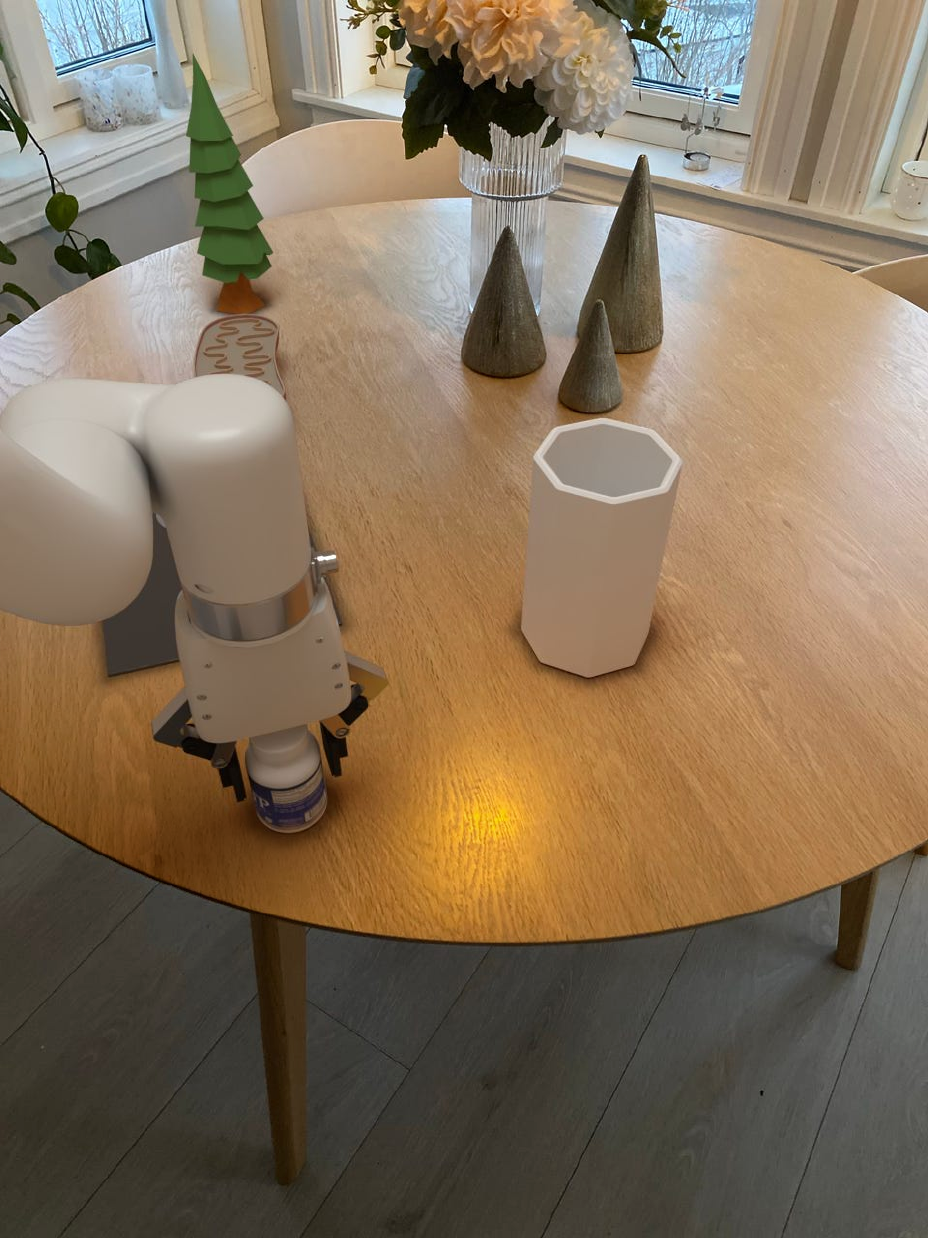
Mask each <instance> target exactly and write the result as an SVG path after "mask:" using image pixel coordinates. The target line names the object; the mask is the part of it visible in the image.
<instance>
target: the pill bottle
mask: <svg viewBox="0 0 928 1238" xmlns="http://www.w3.org/2000/svg"><path fill="white" fill-rule="evenodd" d="M248 741H249V742H248V745H247V747H246V749H245V753H244V765H245V770H246V774H247V778H248V782H249V786H250V791H251V794H252V795H251V796H252V799H253V803H254V807H255V810H256V815H257V817H258V819H259V820H260V822H261V823H262V824H263V825H264V826H266V827H267V828H269V829H270V830H272V831H275V832H277V833H282V834H283V833H284V834H293V833H298V832H299V833H300V832H302V831H304V830H307V829H309V828H310V827H312V826H314V825H315V824H316V823H317V822H318V821H319V820H320V819H321V818H322V817H323V815H324V813H325V811H326V809H327V805H328V793H327V788H326V787H327V786H326V782H325V781H326V780H325V775H324V769H323V761H322V760H323V759H322V752H321V746H320V744H319V741H318V739H317V738H316V736H315V735H314V734H313V733H312V731H310V730H309V727H308V724H304V725H300V726H296V727H292V728H288V729H284V730H280V731H276V732H271V733H267V734H263V735H259V736H255V737H250V738H248Z"/></svg>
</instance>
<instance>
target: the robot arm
mask: <svg viewBox="0 0 928 1238" xmlns="http://www.w3.org/2000/svg"><path fill="white" fill-rule="evenodd" d="M294 421H295V420H294V416H293V413H292V410H291V408H290V406H289V404H288V402H287V401H285V399H284V398H283V396H282V395H281V394H280V393H279V392H278V391H277V390H275V389H274V388H273V387H272V386H270V385H269V384H267V383H265V382H263V381H260V380H258V379H255V378H252V377H248V376H244V375H237V374H211V375H204V376H199V377H195V378H194V377H191V378H189V379H186V380H182V381H180V382H178V383H175V384H174V383H171V384H170V383H169V384H168V383H146V382H133V381H131V382H130V381H117V380H107V379H93V378H77V377H76V378H57V379H49V380H44V381H40V382H36V383H33V384H32V385H29V386H27V387H24V388H23V389H21V390H20V391H18V392H17V393H15V395H13V396H12V397H11V398H10V399H9V401H8V402H7V403H6V405H5V406H4V407H3V409H2V411H1V412H0V610H1V611H3V612H6V613H9V614H11V615H14V616H16V617H19V618H21V619H25V620H29V621H32V622H36V623H39V624H44V625H52V626H58V627H59V626H60V627H63V626H64V627H74V626H75V627H80V626H86V625H91V624H96V623H99V622H102V620H105V619H107V618H110V617H113V616H114V615H116V614H117V613H119V612H120V611H122V610H124V609H125V608H126V607H127V606H128V605H129V604H130V603H131V602H132V601H133V600H134V599H135V598H136V597H137V596H138V594H139V593H140V591H141V590H142V588H143V587H144V585H145V583H146V581H147V578H148V575H149V572H150V569H151V565H152V558H153V517H152V513H156V514H158V515H159V516H161V517H162V519H163V520H164V522H165V525H166V529H167V533H168V537H169V541H170V545H171V549H172V552H173V556H174V560H175V564H176V568H177V572H178V575H179V579H180V583H181V587H182V591H183V594H182V595H181V596H180V597H179V598H178V600H177V602H176V606H175V631H176V642H177V649H178V655H179V660H180V661H179V665H180V669H181V674H182V679H183V684H184V686H183V687H182V688H181V689H180V690H179V691H178V692H177V693H176V694H175V696H174V697H173V698H172V699H171V700H170V701H169V702H168V703H167V705H166V706H165V707H163V709H162V710H161V711H160V712H159V713H158V715H157V716H156V717H155V718H153V720H152V721H151V725H150V726H151V734H152V740H153V741H154V742H156V743H160V744H163V745H165V746H169V747H171V748H176V749H177V748H180V749H182V752H183V753H184V754H187V755H191V756H192V757H193V756H194V757H197V758H199V759H203V760H207V761H209V762H210V766H211V767H212V768H213V769H217V771H218V775H219V779H220V782H221V786H222V789H226V788H229V787H230V788H231V787H232V788H233V792H234V796H235V800H236V803H237V804H238V803H241V802H245V800H246V799H248V797H247V793H246V787H245V783H244V778H243V773H242V769H241V763H240V760H239V757H238V752H237V751H238V750H237V747H236V746H237V743H238V741H242V740H245V739H249V738H250V737H255V736H259V735H263V734H267V733H271V732H276V731H280V730H284V729H288V728H292V727H296V726H300V725H304V724H307V725H308V724H311V723H314V722H315V723H316V722H319V729H320V734H321V743H322V747H323V751H324V754H325V758H326V759H325V760H326V762H327V765H328V769H329V773H330V775H331V777H334V778H337V777H338V778H339V777H342V776H343V771H342V764H341V763H342V762H341V759H344V758H347V757H349V751H348V745H347V744H348V743H347V737H348V736H349V735H350V734H351V727H350V726H351V725H353V723H355V722H356V720H358V719H359V718H360V717H361V716H362V715H363V714H364V713H365V712H366V711H367V710H368V709H369V706H370V705H369V703H370V702H371V701H374V700H375V699H376V698H377V696H379V695H380V694H381V693H382V692H383V691H384V690H386V689H387V687H388V686H389V684H390V683H389V680H388V677H387V675H386V671H385V669H384V668H383V667H382V666H380V665H377V664H376V663H373V662H372V661H368V660H367V659H364V658H362V657H360V656H358V655H356V654H353V653H351V652H349V651H346V650H345V647H344V646H345V645H344V642H343V637H342V633H341V628H340V626H339V624H338V620H337V617H336V613H335V610H334V606H333V602H332V598H331V595H330V592H329V590H328V587H327V585H326V582H325V580H324V578H323V577H326V578H328V575H331V574H335V573H339V571H340V569H339V568H340V567H339V562H338V557H337V554H336V551H335V550H334V549H333V550H327V551H322V550H317V551H316V552H315V550H314V547H311V546H310V539H309V532H308V528H309V525H308V516H307V511H306V502H305V501H306V500H305V494H304V493H305V492H304V486H303V485H304V484H303V479H302V478H303V477H302V472H301V462H300V457H299V456H300V455H299V448H298V447H299V446H298V439H297V431H296V426H295V422H294ZM351 682H353V684H351ZM191 719H192V720H193V722H191V723H190V722H189V721H190V720H191Z"/></svg>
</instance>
